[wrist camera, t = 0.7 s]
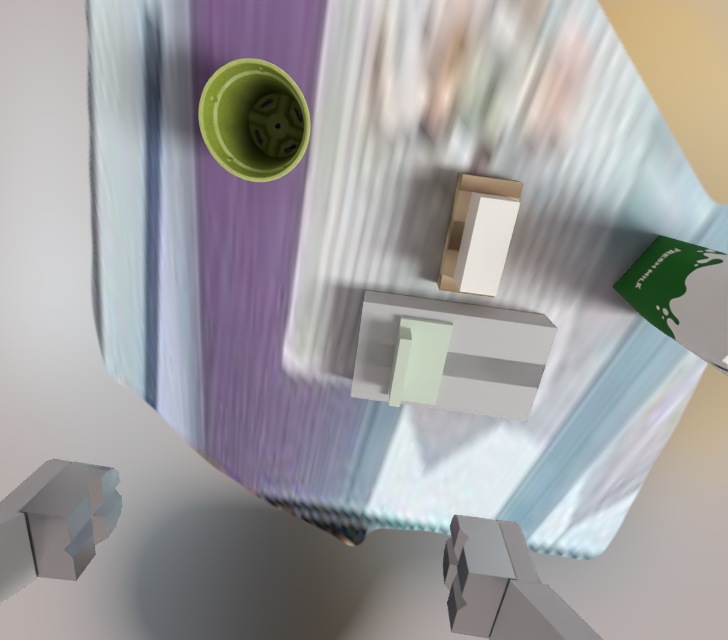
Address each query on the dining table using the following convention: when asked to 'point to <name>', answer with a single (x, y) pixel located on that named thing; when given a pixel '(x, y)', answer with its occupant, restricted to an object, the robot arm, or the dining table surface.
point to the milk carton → (683, 296)
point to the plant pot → (254, 119)
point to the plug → (485, 243)
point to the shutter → (418, 360)
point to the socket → (459, 354)
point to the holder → (458, 218)
